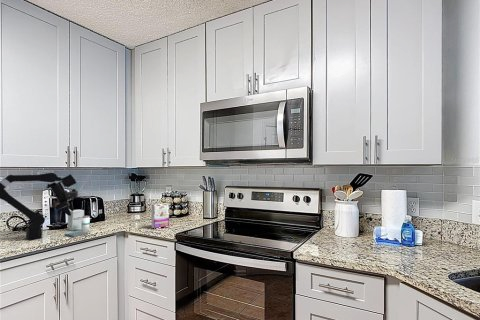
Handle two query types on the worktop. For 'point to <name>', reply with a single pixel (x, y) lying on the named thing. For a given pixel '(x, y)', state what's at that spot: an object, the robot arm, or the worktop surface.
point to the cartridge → (85, 223)
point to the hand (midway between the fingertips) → (71, 213)
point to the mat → (76, 234)
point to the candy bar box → (160, 215)
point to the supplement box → (75, 219)
